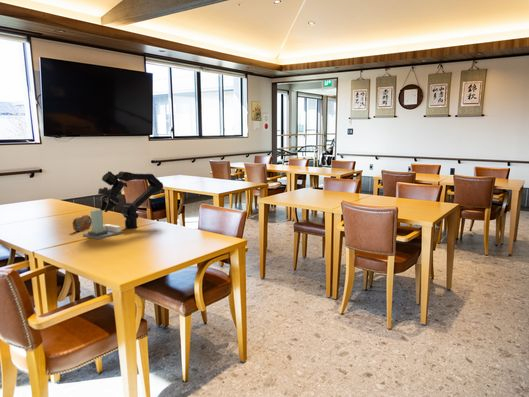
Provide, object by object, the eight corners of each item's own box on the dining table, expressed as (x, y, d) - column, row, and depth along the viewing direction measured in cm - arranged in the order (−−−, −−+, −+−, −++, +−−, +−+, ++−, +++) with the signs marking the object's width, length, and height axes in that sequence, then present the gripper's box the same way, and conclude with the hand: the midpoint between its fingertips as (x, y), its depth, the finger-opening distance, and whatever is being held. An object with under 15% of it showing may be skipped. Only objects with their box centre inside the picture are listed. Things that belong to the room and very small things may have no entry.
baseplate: (108, 229, 247) (108, 223, 246) (124, 232, 240) (123, 226, 239) (82, 235, 232) (82, 229, 231) (98, 239, 225) (97, 232, 224)
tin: (76, 232, 239) (75, 219, 237) (72, 232, 239) (71, 218, 238) (92, 227, 253) (91, 214, 252) (87, 226, 254) (87, 213, 252)
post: (98, 232, 235) (97, 209, 233) (103, 233, 233) (102, 210, 231) (92, 234, 231) (90, 210, 229) (96, 235, 229) (95, 211, 227)
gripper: (99, 183, 245) (85, 205, 240) (109, 181, 230) (94, 205, 225) (115, 192, 251) (102, 214, 245) (125, 191, 236) (112, 214, 231)
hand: (102, 212), depth 237 cm, fingers open, 9 cm apart
